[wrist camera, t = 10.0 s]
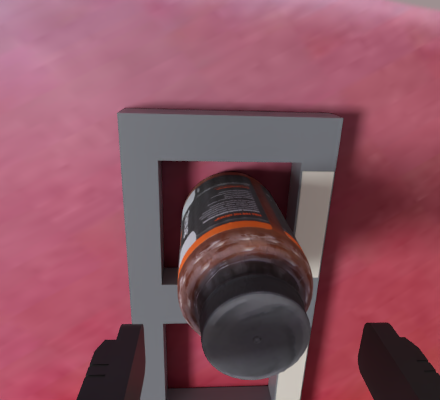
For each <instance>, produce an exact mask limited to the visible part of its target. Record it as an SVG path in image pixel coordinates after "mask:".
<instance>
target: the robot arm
mask: <svg viewBox="0 0 440 400" xmlns="http://www.w3.org/2000/svg"><path fill="white" fill-rule="evenodd" d="M145 364H146V356H145V340H144V326H143V324H122V325H121V327H120V330H119V333H118V336H117V340H105V341H104V342H103V343H102V344H101V345H100V346H99V347H98V348H97V349H96V350H95V352H94V355H93V357H92V360H91V363H90V367H89V368H88V371H87V373H86V378H84V381H83V384H82V386H81V389H80V392H79V394H78V397H77V400H140V397H141V392H142V387H143V381H144V375H145ZM358 365H359V370H360V373H361V375H362V377H363V379H364V381H365V383H366V385H367V387H368V389H369V391H370V393H371V395H372V397H373V399H374V400H440V375H439V374H438V373H436V370H435V369H434V368H433V366H432V365H431V364H430V363H428V360H427V358H426V357H425V356H424V354H423V353H422V352H421V350H420V349H419V348H418V347H417V346H415V345H414V344H413V343H412V342H410V341H409V340H408V339H406V338H405V337H399V336H398V334H397V333H396V331H395V330H394V329H393V327H392V326H391V325H390V324H389V323H366V324H365V326H364V329H363V334H362V339H361V344H360V349H359V354H358Z"/></svg>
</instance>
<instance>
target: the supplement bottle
mask: <svg viewBox="0 0 440 400" xmlns="http://www.w3.org/2000/svg"><path fill="white" fill-rule="evenodd" d="M180 237H181V238H180V252H179V268H178V285H177V291H178V301H179V306H180V308H181V312H182V314H183V316H184V318H185V320H186V321H187V323H188V324H189V325H190V326H191V328H192V329H193V330H194V331H196V332H197V333H198V334H199V335H200V336H201V342H202V348H203V351H204V354H205V356H206V357H207V359H208V361H209V362H210V363H211V364H212V365H213V366H214V367H215V368H216V369H218V370H219V371H220V372H222V373H223V374H226V375H228V376H231V377H234V378H239V379H243V380H258V379H263V378H268V377H271V376H274V375H276V374H279V373H280V372H284V371H285V370H287V369H288V368H289V367H291V366H293V365H294V364H295V363H296V362H297V361H298V360H299V358H300V357H301V356H302V355H303V354H304V352H305V350H306V348H307V346H308V344H309V340H310V334H311V327H310V322H309V319H308V316H307V314H306V313H307V310H308V308H309V306H310V302H311V300H312V296H313V277H312V272H311V268H310V265H309V262H308V260H307V258H306V256H305V254H304V252H303V250H302V249H301V247H300V245H299V243H298V241H297V240H296V238H295V236H294V234H293V233H292V231H291V229H290V227H289V225H288V224H287V222H286V220H285V218H284V217H283V215H282V213H281V211H280V210H279V208H278V206H277V204H276V203H275V201H274V199H273V197H272V196H271V194H270V193H269V191H268V190H267V189H266V188H265V187H264V186H263V185H262V184H261V183H260V182H259V181H257V180H256V179H254V178H252V177H250V176H248V175H246V174H242V173H237V172H224V173H218V174H215V175H212V176H210V177H207V178H206V179H204V180H202V181H201V182H200V183H198V184H197V185H196V186H195V187H194V189H193V190H192V191H191V192H190V194H189V195H188V197H187V199H186V201H185V204H184V208H183V212H182V219H181V236H180Z"/></svg>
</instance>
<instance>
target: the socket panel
mask: <svg viewBox="0 0 440 400" xmlns="http://www.w3.org/2000/svg"><path fill="white" fill-rule="evenodd" d="M117 116H118V131H119V145H120V159H121V174H122V188H123V203H124V217H125V231H126V246H127V260H128V274H129V289H130V303H131V317H132V324H143V326H144V340H145V356H146V364H145V375H144V381H143V387H142V392H141V397H140V400H301V393H302V387H303V380H304V374H305V367H306V360H307V354H308V347H309V344H308V346H307V348H306V350H305V352H304V354H303V355H302V356H301V357H300V358H299V360H298V361H297V362H296V363H295V364H294V365H293V366H291V367H289V368H288V369H287V370H285V371H284V372H280V373H279V374H276V375H274V376H271V377H269V383H268V386H243V387H209V388H176V389H168V382H167V346H166V324H175V323H187V321H186V320H185V318H184V316H183V314H182V312H181V308H180V306H179V301H178V291H177V285H178V268H164V238H163V202H162V167H161V161H228V162H292V167H291V176H290V186H289V195H288V204H287V214H286V222H287V224H288V225H289V227H290V229H291V231H292V233H293V234H294V236H295V238H296V240H297V241H298V243H299V245H300V247H301V249H302V250H303V252H304V254H305V256H306V258H307V260H308V262H309V265H310V268H311V272H312V277H313V296H312V300H311V302H310V306H309V308H308V310H307V313H306V314H307V316H308V319H309V322H310V327H311V328H312V321H313V315H314V308H315V301H316V295H317V288H318V282H319V275H320V269H321V262H322V255H323V249H324V242H325V236H326V229H327V223H328V216H329V209H330V203H331V196H332V190H333V183H334V177H335V170H336V163H337V157H338V150H339V144H340V137H341V131H342V124H343V118H342V117H339V116H337V115H334V114H332V113H306V112H264V111H223V110H181V109H140V108H124V109H122V110H121V111H119V112H118V113H117ZM309 341H310V340H309Z"/></svg>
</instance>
